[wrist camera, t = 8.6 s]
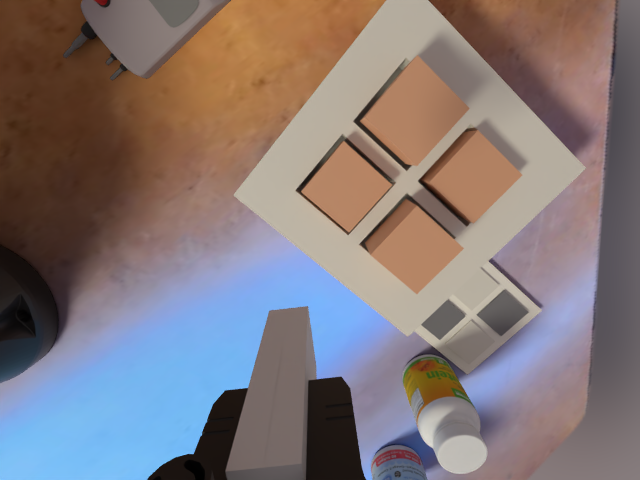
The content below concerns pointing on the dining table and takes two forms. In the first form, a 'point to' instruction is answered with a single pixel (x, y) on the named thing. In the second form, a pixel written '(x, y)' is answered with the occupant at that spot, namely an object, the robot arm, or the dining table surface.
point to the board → (344, 125)
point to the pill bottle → (397, 464)
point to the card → (478, 318)
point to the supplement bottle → (444, 414)
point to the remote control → (143, 29)
